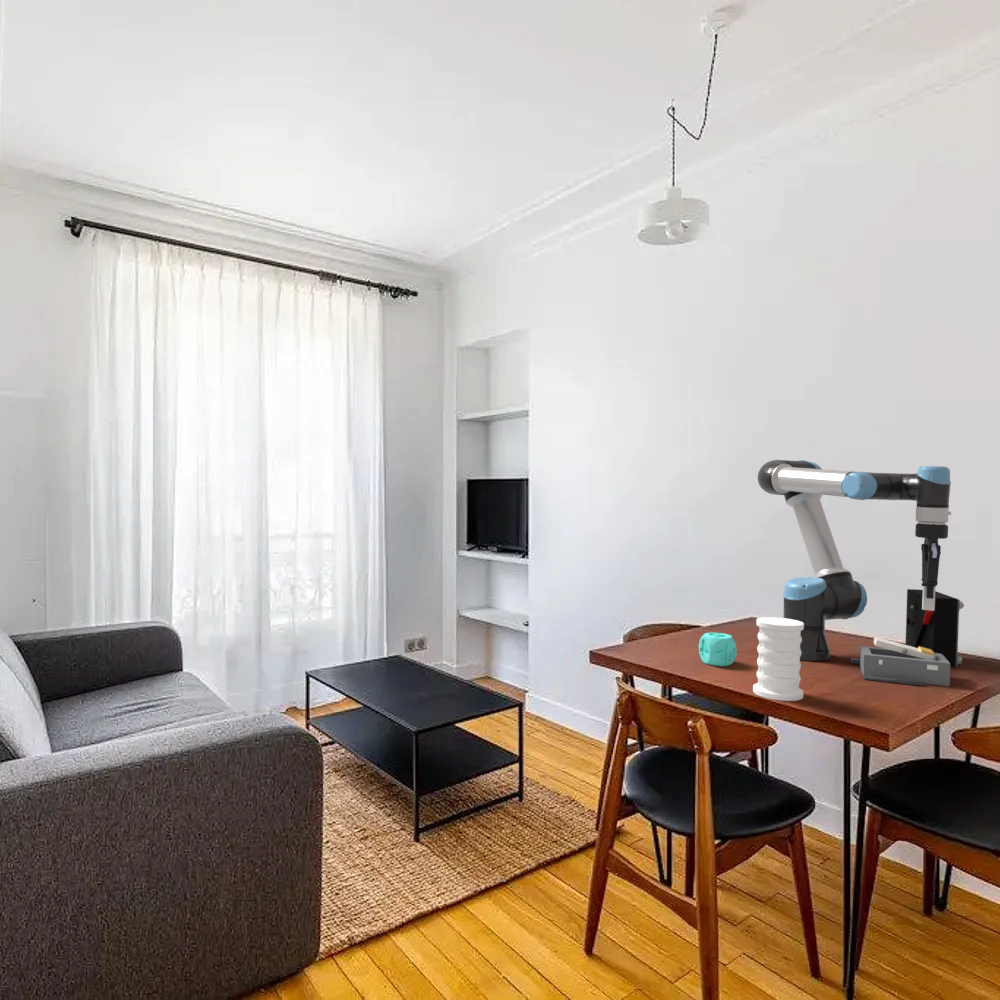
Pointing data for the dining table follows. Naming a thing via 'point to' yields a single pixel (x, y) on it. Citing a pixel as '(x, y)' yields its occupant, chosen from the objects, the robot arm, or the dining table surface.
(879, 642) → the rocker
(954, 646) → the electrical component
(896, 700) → the dining table surface
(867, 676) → the dark grey thin bar
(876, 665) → the breaker housing
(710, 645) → the decorative dice
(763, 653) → the decorative container
